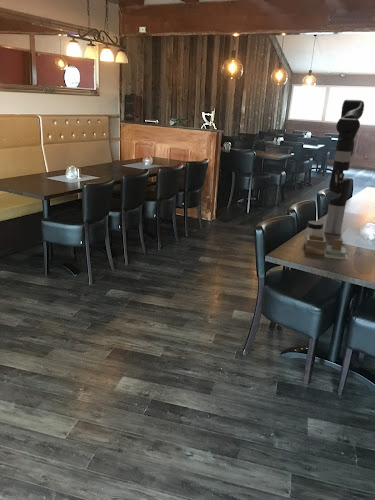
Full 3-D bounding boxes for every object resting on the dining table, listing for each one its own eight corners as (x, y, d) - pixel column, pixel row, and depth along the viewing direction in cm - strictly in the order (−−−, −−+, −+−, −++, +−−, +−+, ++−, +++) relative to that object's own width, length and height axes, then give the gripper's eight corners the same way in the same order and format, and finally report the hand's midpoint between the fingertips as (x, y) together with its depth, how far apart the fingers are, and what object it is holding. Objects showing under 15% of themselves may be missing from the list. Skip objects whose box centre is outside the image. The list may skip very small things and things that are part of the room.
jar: (318, 241, 230) (321, 221, 226) (322, 246, 223) (326, 225, 219) (302, 240, 230) (305, 220, 226) (306, 245, 223) (309, 224, 219)
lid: (325, 248, 218) (327, 235, 215) (344, 251, 215) (346, 238, 213) (326, 254, 209) (328, 241, 207) (345, 257, 207) (348, 243, 204)
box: (305, 247, 220) (307, 234, 218) (323, 249, 218) (325, 237, 216) (305, 252, 212) (307, 239, 210) (323, 255, 210) (325, 242, 207)
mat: (323, 248, 220) (323, 247, 220) (345, 250, 218) (345, 250, 218) (324, 257, 207) (324, 256, 207) (347, 260, 204) (347, 259, 204)
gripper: (333, 157, 214) (328, 188, 219) (335, 161, 201) (329, 194, 207) (348, 159, 212) (343, 190, 218) (351, 162, 199) (345, 195, 205)
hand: (336, 192), depth 212 cm, fingers open, 8 cm apart
